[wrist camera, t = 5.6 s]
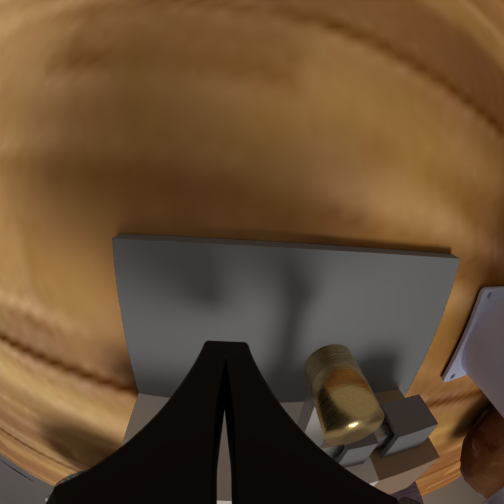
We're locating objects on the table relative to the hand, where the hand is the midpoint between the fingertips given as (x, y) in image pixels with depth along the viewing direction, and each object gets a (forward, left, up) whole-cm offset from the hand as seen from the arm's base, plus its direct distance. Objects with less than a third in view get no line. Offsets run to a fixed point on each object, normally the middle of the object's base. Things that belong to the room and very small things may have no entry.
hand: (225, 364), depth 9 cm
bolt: (-7, +2, 0) cm, 7 cm away
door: (-3, +3, -4) cm, 6 cm away
